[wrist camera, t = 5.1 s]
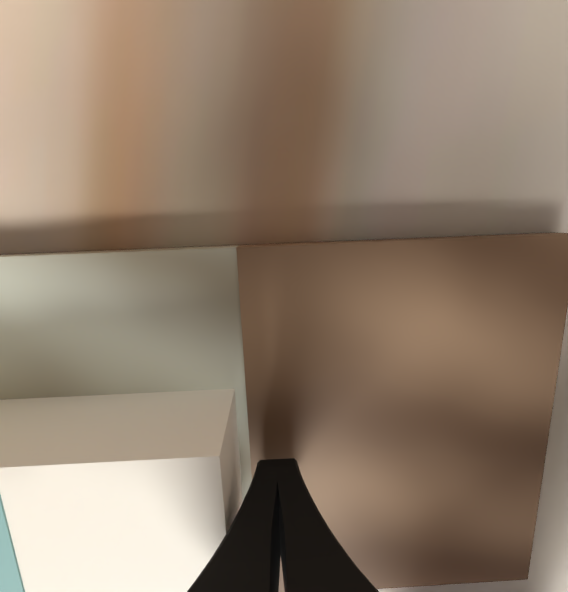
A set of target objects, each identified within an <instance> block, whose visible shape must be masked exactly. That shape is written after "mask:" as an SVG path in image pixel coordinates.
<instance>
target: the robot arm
mask: <svg viewBox="0 0 568 592" xmlns="http://www.w3.org/2000/svg"><path fill="white" fill-rule="evenodd" d="M280 558H281V562H282V572H283V581H284V590H285V592H379V591H378V590H377V589H376V588H375V587H374V586H373V585H372V583H371V582H370V581H369V580H368V579H367V578H366V577H365V575H364V574H363V573H362V572H361V571H360V570H359V568H358V567H357V566H356V565H355V563H354V562H353V561H352V559H351V558H350V557H349V556H348V554H347V553H346V552H345V550H344V549H343V547H342V546H341V545H340V543H339V542H338V540H337V539H336V537H335V536H334V535H333V533H332V531H331V530H330V528H329V527H328V525H327V524H326V522H325V520H324V519H323V517H322V515H321V514H320V512H319V510H318V508H317V506H316V505H315V503H314V501H313V499H312V497H311V495H310V493H309V491H308V489H307V487H306V485H305V482H304V480H303V478H302V475H301V472H300V470H299V466H298V463H297V460H295V459H294V458H287V459H268V460H260V461H259V462H258V463H257V467H256V470H255V473H254V476H253V479H252V482H251V484H250V487H249V489H248V492H247V494H246V496H245V498H244V500H243V503H242V505H241V507H240V509H239V511H238V513H237V515H236V517H235V519H234V520H233V522H232V524H231V526H230V528H229V530H228V532H227V533H226V535H225V537H224V538H223V540H222V542H221V543H220V545H219V547H218V548H217V550H216V551H215V553H214V554H213V556H212V558H211V559H210V561H209V562H208V563H207V565H206V566H205V568H204V569H203V570H202V572H201V573H200V575H199V576H198V577H197V579H196V580H195V582H194V583H193V584H192V586H191V587H190V588H189V589H188V591H187V592H279V576H280Z"/></svg>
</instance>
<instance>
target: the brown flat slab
mask: <svg viewBox="0 0 568 592" xmlns="http://www.w3.org/2000/svg"><path fill="white" fill-rule="evenodd" d="M567 306H568V233H531V234H506V235H481V236H456V237H432V238H407V239H382V240H357V241H332V242H307V243H282V244H257V245H233V246H208V247H183V248H158V249H133V250H108V251H83V252H59V253H34V254H9V255H0V400H6V399H27V398H48V397H69V396H90V395H111V394H132V393H153V392H174V391H195V390H216V389H235V400H236V413H237V427H238V441H239V455H240V468H241V482H242V496H243V500H244V498H245V496H246V494H247V492H248V489H249V487H250V484H251V482H252V479H253V476H254V473H255V470H256V467H257V463H258V462H259V461H260V460H268V459H287V458H294V459H295V460H297V463H298V466H299V470H300V472H301V475H302V478H303V480H304V482H305V485H306V487H307V489H308V491H309V493H310V495H311V497H312V499H313V501H314V503H315V505H316V506H317V508H318V510H319V512H320V514H321V515H322V517H323V519H324V520H325V522H326V524H327V525H328V527H329V528H330V530H331V531H332V533H333V535H334V536H335V537H336V539H337V540H338V542H339V543H340V545H341V546H342V547H343V549H344V550H345V552H346V553H347V554H348V556H349V557H350V558H351V559H352V561H353V562H354V563H355V565H356V566H357V567H358V568H359V570H360V571H361V572H362V573H363V574H364V575H365V577H366V578H367V579H368V580H369V581H370V582H371V583H372V585H373V586H374V587H375V588H376V589H382V588H398V587H414V586H430V585H446V584H461V583H477V582H493V581H509V580H525V579H528V572H529V566H530V559H531V552H532V545H533V538H534V531H535V525H536V518H537V511H538V504H539V497H540V490H541V484H542V477H543V470H544V463H545V456H546V449H547V443H548V436H549V429H550V422H551V415H552V409H553V402H554V395H555V388H556V381H557V374H558V368H559V361H560V354H561V347H562V340H563V333H564V327H565V320H566V313H567ZM279 592H285V590H284V581H283V572H282V562H281V558H280V576H279Z"/></svg>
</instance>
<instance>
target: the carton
mask: <svg viewBox="0 0 568 592" xmlns="http://www.w3.org/2000/svg"><path fill="white" fill-rule="evenodd" d="M242 503H243V496H242V482H241V468H240V455H239V441H238V427H237V413H236V400H235V389H216V390H195V391H174V392H153V393H132V394H111V395H90V396H69V397H48V398H27V399H6V400H0V592H187V591H188V589H189V588H190V587H191V586H192V584H193V583H194V582H195V580H196V579H197V577H198V576H199V575H200V573H201V572H202V570H203V569H204V568H205V566H206V565H207V563H208V562H209V561H210V559H211V558H212V556H213V554H214V553H215V551H216V550H217V548H218V547H219V545H220V543H221V542H222V540H223V538H224V537H225V535H226V533H227V532H228V530H229V528H230V526H231V524H232V522H233V520H234V519H235V517H236V515H237V513H238V511H239V509H240V507H241V505H242Z"/></svg>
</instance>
